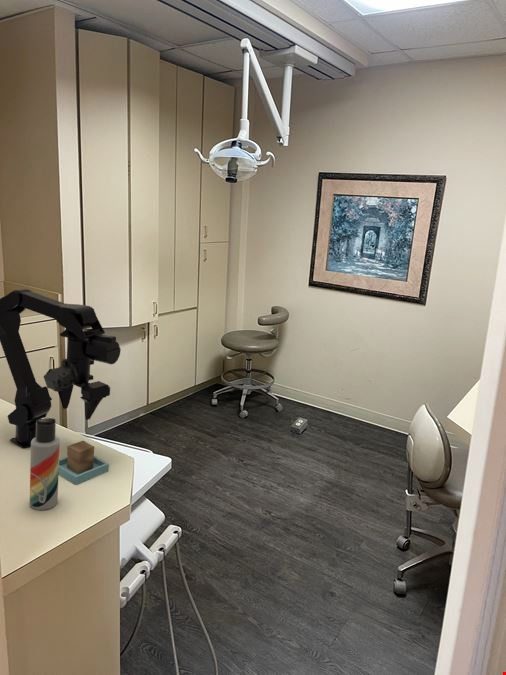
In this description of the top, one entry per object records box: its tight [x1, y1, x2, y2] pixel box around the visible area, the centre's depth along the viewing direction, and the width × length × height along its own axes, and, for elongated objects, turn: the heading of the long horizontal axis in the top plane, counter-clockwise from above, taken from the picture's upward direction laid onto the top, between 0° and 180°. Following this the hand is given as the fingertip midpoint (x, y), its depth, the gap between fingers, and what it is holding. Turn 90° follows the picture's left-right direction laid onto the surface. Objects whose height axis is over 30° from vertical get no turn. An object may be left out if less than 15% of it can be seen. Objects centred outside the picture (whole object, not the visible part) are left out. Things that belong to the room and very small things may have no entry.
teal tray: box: [58, 455, 110, 486], centre depth 125 cm, size 10×10×2 cm
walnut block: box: [66, 440, 95, 474], centre depth 124 cm, size 4×4×6 cm
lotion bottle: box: [29, 417, 61, 511], centre depth 108 cm, size 6×6×20 cm
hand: (76, 413), depth 129 cm, fingers open, 9 cm apart
